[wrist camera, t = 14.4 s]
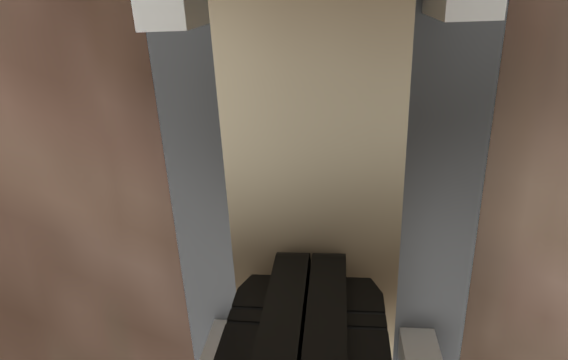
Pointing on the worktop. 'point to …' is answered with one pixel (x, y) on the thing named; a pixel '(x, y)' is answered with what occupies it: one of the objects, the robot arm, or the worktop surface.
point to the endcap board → (418, 167)
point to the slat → (315, 131)
